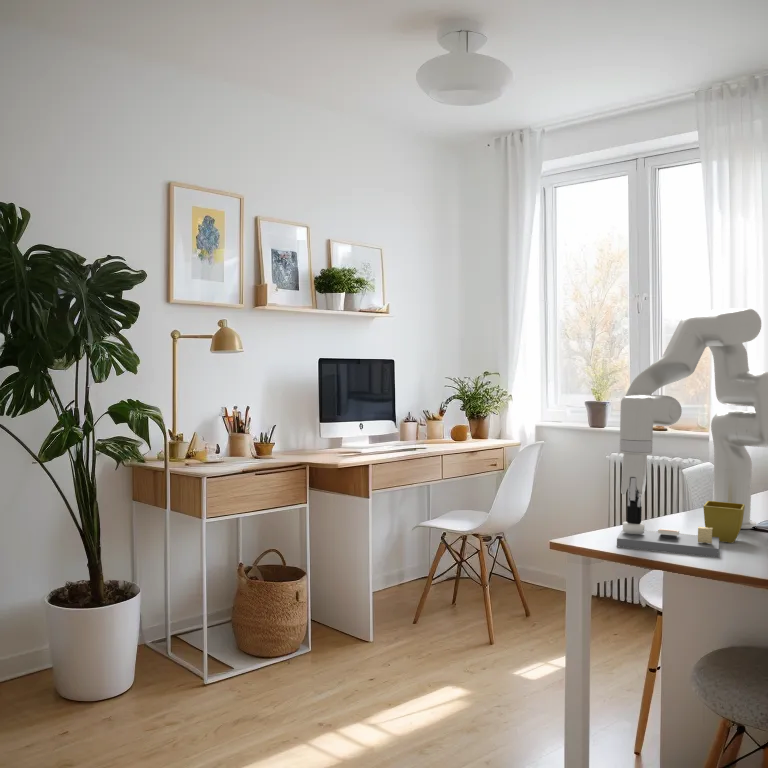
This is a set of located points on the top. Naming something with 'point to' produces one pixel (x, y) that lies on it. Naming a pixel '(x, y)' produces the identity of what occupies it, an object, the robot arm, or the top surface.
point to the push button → (633, 528)
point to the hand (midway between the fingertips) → (634, 522)
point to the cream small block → (705, 534)
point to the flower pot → (724, 519)
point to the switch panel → (669, 543)
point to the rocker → (668, 531)
